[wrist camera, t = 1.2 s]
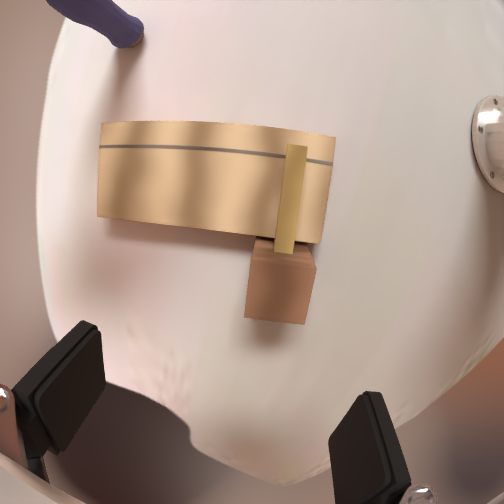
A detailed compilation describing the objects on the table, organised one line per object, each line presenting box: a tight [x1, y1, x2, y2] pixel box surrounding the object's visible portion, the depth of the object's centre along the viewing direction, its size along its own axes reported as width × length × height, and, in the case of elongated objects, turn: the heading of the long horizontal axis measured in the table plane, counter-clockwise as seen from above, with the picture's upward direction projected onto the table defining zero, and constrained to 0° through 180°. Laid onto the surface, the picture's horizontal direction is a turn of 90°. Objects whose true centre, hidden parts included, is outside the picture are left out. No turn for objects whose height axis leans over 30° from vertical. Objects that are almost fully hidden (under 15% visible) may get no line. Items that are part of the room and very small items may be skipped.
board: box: [97, 121, 336, 244], centre depth 26 cm, size 23×10×3 cm, turn 84°
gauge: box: [244, 144, 317, 324], centre depth 25 cm, size 5×14×8 cm, turn 174°
